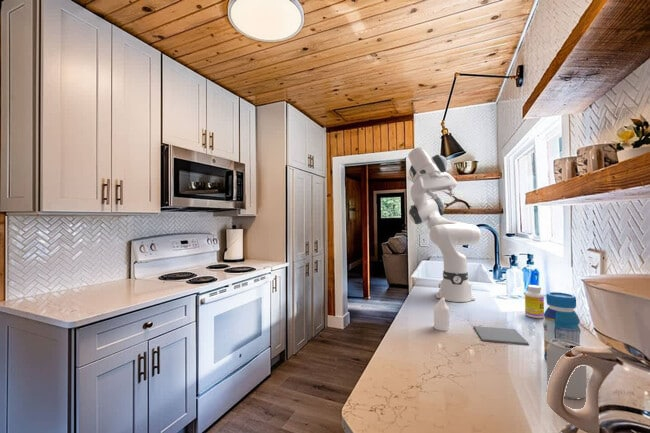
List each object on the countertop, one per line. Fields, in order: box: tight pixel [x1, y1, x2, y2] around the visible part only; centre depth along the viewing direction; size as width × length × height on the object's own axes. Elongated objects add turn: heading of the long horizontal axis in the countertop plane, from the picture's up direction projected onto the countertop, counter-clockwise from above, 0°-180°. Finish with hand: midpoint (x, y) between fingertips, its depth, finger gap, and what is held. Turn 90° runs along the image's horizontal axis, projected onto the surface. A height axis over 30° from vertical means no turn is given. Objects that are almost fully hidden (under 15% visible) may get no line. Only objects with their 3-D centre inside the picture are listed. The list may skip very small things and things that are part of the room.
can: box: [546, 339, 587, 400], centre depth 73 cm, size 8×8×12 cm
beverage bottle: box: [543, 291, 581, 363], centre depth 87 cm, size 8×8×20 cm
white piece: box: [433, 297, 450, 332], centre depth 116 cm, size 6×12×6 cm
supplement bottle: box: [524, 284, 545, 319], centre depth 129 cm, size 7×7×13 cm
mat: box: [473, 325, 530, 346], centre depth 108 cm, size 13×14×1 cm
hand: (444, 196), depth 137 cm, fingers open, 8 cm apart
